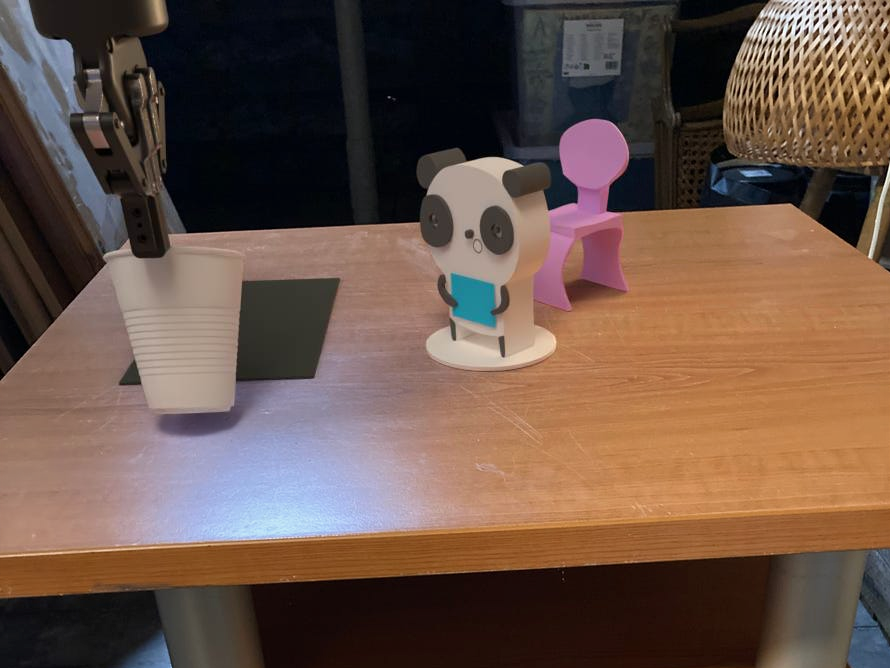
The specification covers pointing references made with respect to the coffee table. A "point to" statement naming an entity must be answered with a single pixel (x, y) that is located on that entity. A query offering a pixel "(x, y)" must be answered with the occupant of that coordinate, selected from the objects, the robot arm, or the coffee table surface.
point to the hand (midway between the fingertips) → (152, 254)
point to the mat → (277, 329)
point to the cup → (182, 324)
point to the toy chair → (586, 212)
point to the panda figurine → (486, 258)
